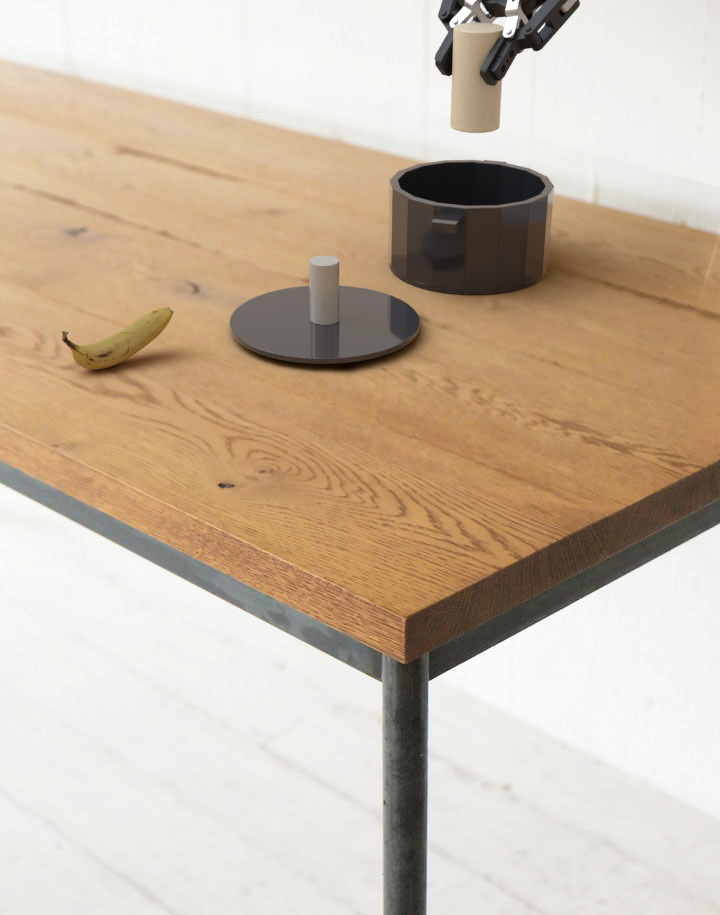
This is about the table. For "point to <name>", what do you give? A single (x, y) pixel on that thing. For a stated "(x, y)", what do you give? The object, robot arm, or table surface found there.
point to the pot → (469, 226)
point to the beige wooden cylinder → (474, 79)
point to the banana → (121, 341)
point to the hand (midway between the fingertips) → (464, 74)
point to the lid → (324, 320)
